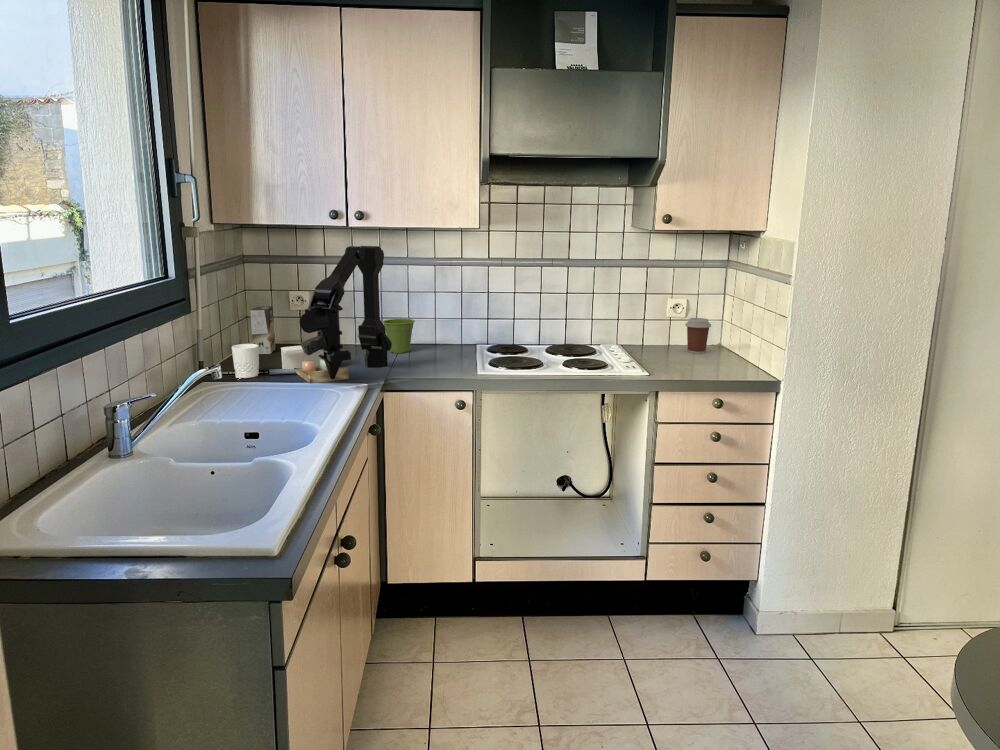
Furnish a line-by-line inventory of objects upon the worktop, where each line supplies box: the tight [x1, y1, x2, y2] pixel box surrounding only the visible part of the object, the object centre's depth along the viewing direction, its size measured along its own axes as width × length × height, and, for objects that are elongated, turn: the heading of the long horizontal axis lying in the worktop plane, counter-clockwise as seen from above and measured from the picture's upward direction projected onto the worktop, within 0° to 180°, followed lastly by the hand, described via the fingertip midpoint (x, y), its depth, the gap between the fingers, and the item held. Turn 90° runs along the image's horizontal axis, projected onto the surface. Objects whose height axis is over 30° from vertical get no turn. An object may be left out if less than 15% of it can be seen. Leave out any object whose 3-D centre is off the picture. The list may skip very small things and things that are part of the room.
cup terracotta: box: [301, 360, 316, 375], centre depth 235 cm, size 4×4×4 cm
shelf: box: [280, 345, 341, 370], centre depth 242 cm, size 17×6×8 cm, turn 120°
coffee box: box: [249, 305, 276, 355], centre depth 271 cm, size 9×6×16 cm
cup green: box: [319, 359, 327, 371], centre depth 238 cm, size 4×4×4 cm
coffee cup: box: [684, 317, 712, 354], centre depth 274 cm, size 9×9×12 cm
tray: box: [295, 366, 350, 384], centre depth 233 cm, size 12×15×4 cm
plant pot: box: [381, 318, 416, 354], centre depth 273 cm, size 12×12×11 cm
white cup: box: [231, 343, 260, 380], centre depth 233 cm, size 8×8×10 cm
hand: (332, 378), depth 225 cm, fingers closed
